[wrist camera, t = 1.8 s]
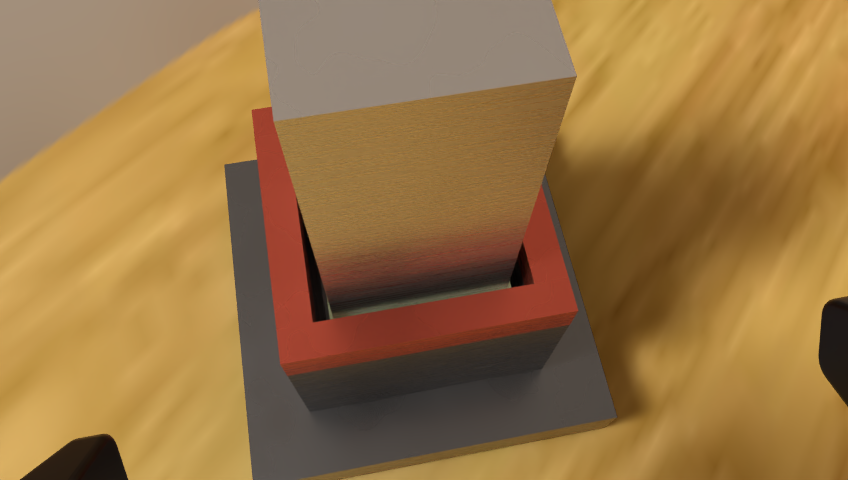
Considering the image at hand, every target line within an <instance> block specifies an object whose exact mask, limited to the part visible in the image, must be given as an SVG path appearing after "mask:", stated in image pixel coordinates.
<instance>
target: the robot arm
mask: <svg viewBox="0 0 848 480" xmlns="http://www.w3.org/2000/svg"><path fill="white" fill-rule="evenodd" d="M819 364H820V367H821V370H822V372H823V374H824V375H825V377H826V378H827V380H828V381H829V382H830V384H831V385H832V386H833V388H834V389H835V390H836V392H837V393H838V394H839V396H840V397H841V398H842V400H843V401H844V402H845V404H846V405H847V406H848V296H847V297H841V298H836V299H832V300H829V301H828V302H827V303H826V304H825V306H824V308H823V310H822V319H821V331H820V343H819ZM20 480H128V478H127V475H126V472H125V469H124V466H123V462H122V459H121V456H120V453H119V450H118V447H117V445H116V442H115V441H114V439H113V438H112V437H111V436H110V435H108V434H99V435H94V436H88V437H83V438H78V439H75V440H72V441H71V442H69V443H68V444H67V445H65V446H64V447H63V448H61V449H60V450H59V451H57V452H56V453H55V454H53V455H52V456H51V457H49V458H48V459H47V460H45V461H44V462H43V463H41V464H40V465H39V466H37V467H36V468H35V469H33V470H32V471H31V472H30V473H28V474H27V475H26V476H24V477H23V478H22V479H20Z"/></svg>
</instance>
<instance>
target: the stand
mask: <svg viewBox="0 0 848 480" xmlns="http://www.w3.org/2000/svg"><path fill="white" fill-rule="evenodd" d="M252 117H253V126H254V135H255V144H256V153H257V160H252V161H245V162H239V163H232V164H226V165H225V177H226V188H227V199H228V210H229V221H230V232H231V243H232V254H233V265H234V276H235V288H236V299H237V310H238V321H239V332H240V343H241V354H242V365H243V376H244V387H245V399H246V410H247V421H248V432H249V443H250V454H251V465H252V476H253V480H338V479H343V478H348V477H354V476H359V475H364V474H369V473H374V472H379V471H384V470H389V469H394V468H400V467H405V466H410V465H415V464H420V463H425V462H430V461H435V460H441V459H446V458H451V457H456V456H461V455H466V454H471V453H476V452H481V451H487V450H492V449H497V448H502V447H507V446H512V445H517V444H522V443H527V442H533V441H538V440H543V439H548V438H553V437H558V436H563V435H568V434H573V433H579V432H584V431H589V430H594V429H599V428H604V427H606V426H607V425H608V424H609V423H611V422H612V421H613V420H615V419H616V418H617V415H616V411H615V408H614V405H613V401H612V398H611V394H610V391H609V388H608V384H607V381H606V378H605V374H604V371H603V368H602V364H601V361H600V357H599V354H598V351H597V347H596V344H595V341H594V337H593V334H592V331H591V327H590V324H589V320H588V317H587V314H586V310H585V307H584V304H583V300H582V297H581V294H580V290H579V287H578V283H577V280H576V277H575V273H574V270H573V267H572V263H571V260H570V256H569V253H568V250H567V246H566V243H565V240H564V236H563V233H562V230H561V226H560V223H559V219H558V216H557V213H556V209H555V206H554V203H553V199H552V196H551V193H550V189H549V186H548V182H547V179H546V176H545V175H544V178H543V181H542V184H541V187H540V190H539V193H538V196H537V199H536V202H535V205H534V208H533V211H532V214H531V217H530V220H529V223H528V226H527V229H526V232H525V235H524V238H523V241H522V244H521V248H520V251H519V254H518V257H517V260H516V263H515V266H514V269H513V272H512V275H511V278H510V284H511V288H507V289H502V290H496V291H490V292H484V293H479V294H473V295H467V296H462V297H456V298H450V299H445V300H439V301H433V302H427V303H422V304H416V305H410V306H405V307H399V308H393V309H387V310H382V311H376V312H370V313H365V314H359V315H353V316H348V317H342V318H336V319H330V317H329V310H328V303H327V296H326V292H325V289H324V286H323V282H322V279H321V276H320V273H319V269H318V266H317V263H316V259H315V256H314V253H313V250H312V246H311V243H310V240H309V236H308V233H307V230H306V226H305V223H304V220H303V217H302V213H301V210H300V207H299V203H298V200H297V197H296V194H295V190H294V187H293V184H292V180H291V177H290V174H289V171H288V167H287V164H286V161H285V157H284V154H283V151H282V147H281V144H280V141H279V138H278V134H277V131H276V128H275V124H274V121H273V113H272V107H268V108H261V109H255V110H252Z"/></svg>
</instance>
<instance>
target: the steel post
mask: <svg viewBox="0 0 848 480" xmlns="http://www.w3.org/2000/svg"><path fill="white" fill-rule="evenodd" d="M258 1H259V9H260V17H261V25H262V33H263V41H264V49H265V57H266V65H267V73H268V81H269V89H270V97H271V105H272V113H273V121H274V124H275V128H276V131H277V134H278V138H279V141H280V144H281V147H282V151H283V154H284V157H285V161H286V164H287V167H288V171H289V174H290V177H291V180H292V184H293V187H294V190H295V194H296V197H297V200H298V203H299V207H300V210H301V213H302V217H303V220H304V223H305V226H306V230H307V233H308V236H309V240H310V243H311V246H312V250H313V253H314V256H315V259H316V263H317V266H318V269H319V273H320V276H321V279H322V282H323V286H324V289H325V292H326V296H327V303H328V310H329V317H330V319H336V318H342V317H348V316H353V315H359V314H365V313H370V312H376V311H382V310H387V309H393V308H399V307H405V306H410V305H416V304H422V303H427V302H433V301H439V300H445V299H450V298H456V297H462V296H467V295H473V294H479V293H484V292H490V291H496V290H502V289H507V288H511V284H510V278H511V275H512V272H513V269H514V266H515V263H516V260H517V257H518V254H519V251H520V248H521V244H522V241H523V238H524V235H525V232H526V229H527V226H528V223H529V220H530V217H531V214H532V211H533V208H534V205H535V202H536V199H537V196H538V193H539V190H540V187H541V184H542V181H543V178H544V175H545V171H546V168H547V165H548V162H549V159H550V156H551V153H552V150H553V147H554V144H555V141H556V138H557V135H558V132H559V129H560V126H561V123H562V120H563V117H564V114H565V111H566V108H567V105H568V102H569V99H570V95H571V92H572V89H573V86H574V83H575V80H576V77H577V75H576V72H575V69H574V66H573V63H572V60H571V57H570V54H569V51H568V48H567V46H566V43H565V40H564V37H563V34H562V31H561V28H560V25H559V22H558V19H557V16H556V13H555V10H554V7H553V4H552V1H551V0H258Z"/></svg>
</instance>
